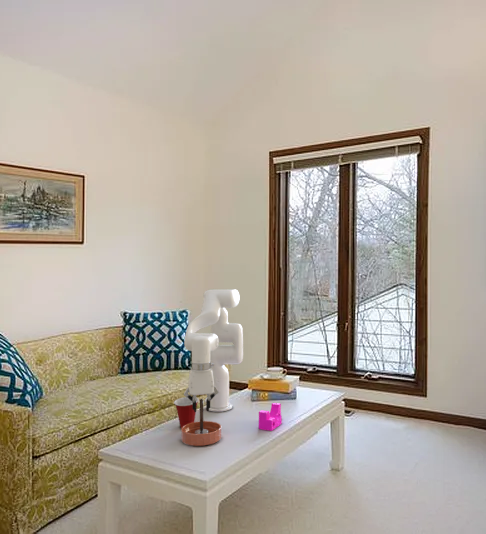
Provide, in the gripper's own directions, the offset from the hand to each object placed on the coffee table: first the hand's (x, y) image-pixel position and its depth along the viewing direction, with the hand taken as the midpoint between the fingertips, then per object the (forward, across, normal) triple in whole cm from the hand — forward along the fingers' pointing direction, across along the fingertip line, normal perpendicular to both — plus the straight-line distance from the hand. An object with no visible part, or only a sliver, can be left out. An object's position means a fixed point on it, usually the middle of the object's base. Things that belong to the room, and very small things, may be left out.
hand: (201, 410), depth 201 cm
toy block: (+12, -32, -10) cm, 36 cm away
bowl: (+12, 0, 0) cm, 12 cm away
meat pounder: (+12, 0, 0) cm, 12 cm away
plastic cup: (+12, +5, -18) cm, 22 cm away
